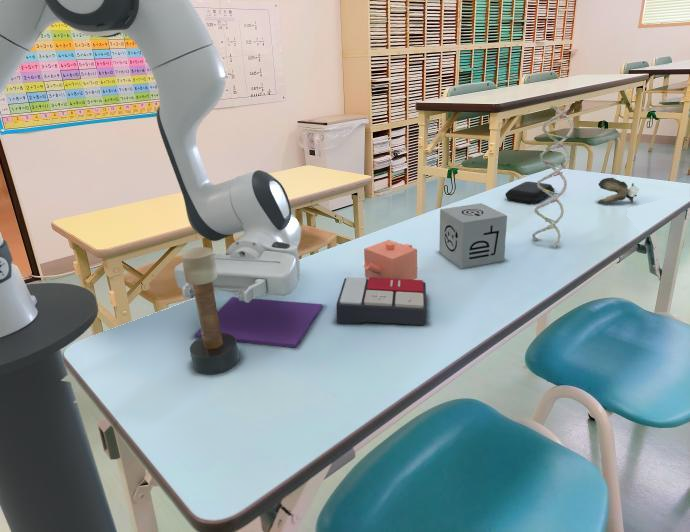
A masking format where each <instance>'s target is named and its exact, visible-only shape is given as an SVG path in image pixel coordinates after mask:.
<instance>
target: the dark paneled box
mask: <svg viewBox="0 0 690 532" xmlns="http://www.w3.org/2000/svg"><path fill="white" fill-rule="evenodd" d="M426 287H427V283H426V282H425V281H424V280H423V279H413V280H409V279H391V278H372V277H370V278H367V277H355V276H354V277H351V276H348V277H345V278H344V279H343V282H342V285H341V289H340V292H339V294H338V299H337V301H336V323H339V324H351V325H359V324H362V323H364V322H367V323H369V322H370V323H383V324H401V325H414V326H415V325H416V326H425V325H426V323H427V322H426V320H427V290H426V289H427V288H426Z"/></svg>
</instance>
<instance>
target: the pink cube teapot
mask: <svg viewBox="0 0 690 532" xmlns="http://www.w3.org/2000/svg"><path fill="white" fill-rule="evenodd" d="M363 258H364V265H363V268H364V278H366V279H369V278H370V277H372V278H391V279H409V280H417V278H418V249H417V248H414V247H413V245H412V244H409V243H404V244H403V243H399V242H397V241H393V240H390V239H387V240H383V241H382V242H379V243H376V244H373V245H371V246H368V247H365V248H363Z"/></svg>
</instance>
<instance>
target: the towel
mask: <svg viewBox="0 0 690 532" xmlns="http://www.w3.org/2000/svg"><path fill="white" fill-rule="evenodd" d="M322 309H323V304H322V303H314V302H313V303H312V302H301V301H299V302H298V301H287V300H274V299H273V300H272V299H262V298H253V299H252V300H251V301H250V302H249V303H247V302H239V297H238V296H237V297H236V296H233V297H231V298H230V299H229V300H228V301H227V302H225V304H224V305H223V306H222V307H221V308H220V309H218V310H217V312H218V318H219V324H220V330H221V333H227V334H230V335H233V336H234V337H235V338H236V340H237V343H238V342H239V343H249V344H255V345H256V344H258V345H267V346H277V347H285V348H286V347H287V348H297V347H298V346H299V344H300V342H301V341H302V340H303V338H304V337H305V336H306V334H307V332H308V330H309V329H310V327H311V326H312V324H313V323H314V321H315V320H316V318H317V317H318V315H319V313H320V312H321V310H322ZM200 337H202V333H201V328H199V329H198V330H197V331H196V333H195V334H194V338H200Z"/></svg>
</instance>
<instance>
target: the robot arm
mask: <svg viewBox="0 0 690 532" xmlns="http://www.w3.org/2000/svg"><path fill="white" fill-rule="evenodd" d="M57 23H62V24H65V25H67V26H68V27H70V28H71V29H73V30H74V31H77V32H78V33H81V34H83V35H86V36H89V37H90V36H91V37H97V38H98V37H100V38H112V37H117V36H118V35H120V34H123V35H125V36H127V37H128V38H130V39H131V40H132V41H133V42H134V43H135V45H136V46H137V47H138V49H139V50H140V52H141V54H142V56H143V58H144V60H145V62H146V64H147V65H148V68H149V70H150V71H151V73H152V76H153V78H154V81H155V83H156V86H157V92H158V97H159V106H158V108H157V109H156V123H157V126H158V129H159V134H160V137H161V139H162V142H163V145H164V148H165V150H166V154H167V156H168V158H169V162H170V164H171V167H172V170H173V173H174V175H175V178H176V180H177V183H178V186H179V188H180V191H181V194H182V197H183V202H184V206H185V210H186V216H187V220H188V222H189V225H190V226H191V228H192V229H193V230H194V232H196V233H197V234H198V235H199V236H200V237H203V238H204V239H207V240H208V241H210V242H211V241H212V242H218V241H221V240H223V239H226V238H228V237H230V236H233V235H235V234H238V233H240V232H243V235H242V236H241V237H239V238H238V239H236V240H235V241H234V242H233V243H231V244H230V245H229V246H228V248H227V250H226V253H225V254H224V253H223V254H221V253H214V258H215V265H216V271H217V278H216V279H215V280H214V281H212V282H213V288H214V292H226V293H227V292H228V293H237V297H238V298H239V302H247V303H249V302H250V301H251V300H252V299H257V298H259V297H262V296H264V295H267V296H268V295H269V296H281V297H284V296H288V295H291V294H292V293H293V292H294V291H295V289H296V288H297V286H298V284H299V281H300V280H301V265H300V264H301V263H300V256H299V251H298V247H299V245H300V243H301V238H302V227H301V224H300V222H299V220H298V219H297V218H296V216H294V215H293V214H292V208H291V204H290V203H291V202H290V199H289V196H288V194H287V192H286V189H285V188H284V186H283V185H282V183H281V182H280V181H279V180H278V179H277V178H276V177H274V176H273V175H272V174H270V173H268V172H266V171H264V170H259V169H258V170H255V171H251V172H249V173H244V174H242V175H238V176H237V177H235V178H232V179H229V180H226V181H222V182H220V183H217V184H214V183H212V182H211V181H210V179H209V177H208V174H207V171H206V168H205V165H204V162H203V160H202V156H201V153H200V150H199V148H198V145H197V131H198V129H199V127H200V125H201V124H202V122H203V121H204V119H205V118H206V117H207V116H208V115H209V114H210V113H211V112H212V111H213V110H214V109H215V107H216V106H217V105H218V104H219V102H220V101H221V99H222V96H223V95H224V91H225V88H226V82H227V75H226V70H225V67H224V64H223V61H222V59H221V56H220V54H219V52H218V50H217V47H216V45H215V44H214V43H215V42H214V41H213V39H212V37H211V35H210V33H209V31H208V29H207V27H206V25H205V24H204V21H203V19H202V18H201V17H200V15H199V13H198V12H197V10H196V8H195V7H194V5H193V4H192V2H191V1H190V0H0V97H1V96H2V95H3V92H5V90H6V88H7V86H9V84H10V82H11V80H12V79H13V77H14V76H15V75H16V73H17V71H18V70H19V68H20V67H21V65H22V64H23V63H24V62H25V59H26V58H27V56H28V55H29V53H30V52H31V51H32V49H33V48H34V46H35V45H36V43H37V41H38V40H39V39H40V37H42V35H43V33H44V32H45V31H46V30H47V29H49V27H51V26H52V25H54V24H57ZM11 253H12V252H11V248H10V247H9V244H8V242H7V241H6V240H5V239H3V236H2V231H0V338H1V337H4V336H6V335H9V334H11V333H13V332H15V331H18V330H19V329H21V328H23V327H25V326H26V325H28V324H29V323H30V322H32V321H33V320H34V319H35V318H36V316H37V314H38V310H37V309H36V307H35V305H36V303H37V300H36V298H35V296H31V295H30V293H29V291H28V289H27V286H26V285H27V284H26V282H25V279H24V278H23V275H22V273H21V271H20V269H19V267H18V266H17V265H16V264H14V263H13V259H14V258H13V255H12V254H11ZM173 271H174V278H175V282H176V285H177V287H178V288H180V289H181V295H182V298H187V299H193V298H195V295H194V290H193V285H191V284H188V283H187V282H186V279H185V274H184V268H183V263H182V262H180V263H179V264H177V265H176V266H175V267H174V269H173Z"/></svg>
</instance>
